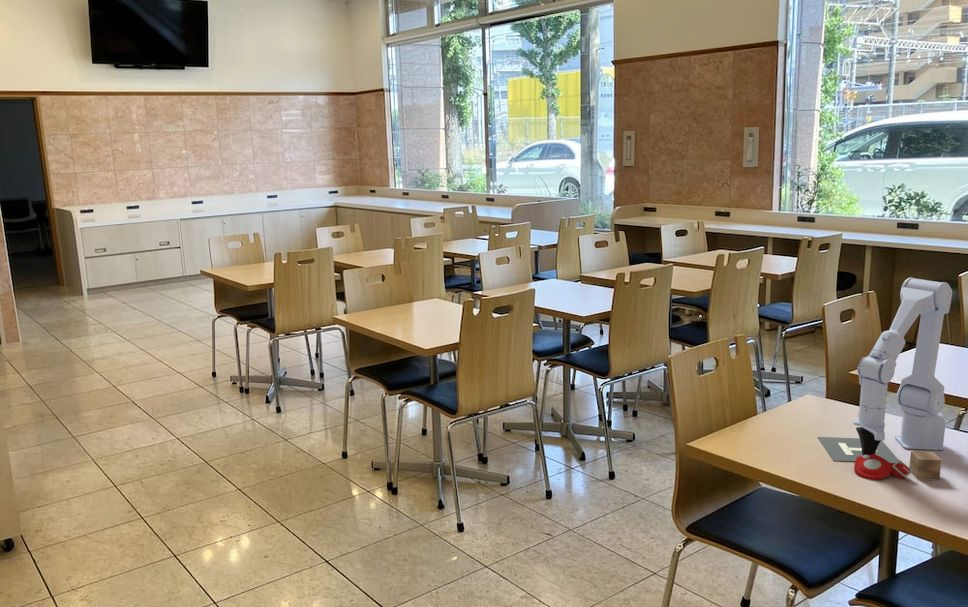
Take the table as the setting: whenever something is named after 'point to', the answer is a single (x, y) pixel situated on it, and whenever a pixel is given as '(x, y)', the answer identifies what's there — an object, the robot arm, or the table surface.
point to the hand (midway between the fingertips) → (867, 457)
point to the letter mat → (853, 449)
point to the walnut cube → (925, 465)
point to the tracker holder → (879, 468)
